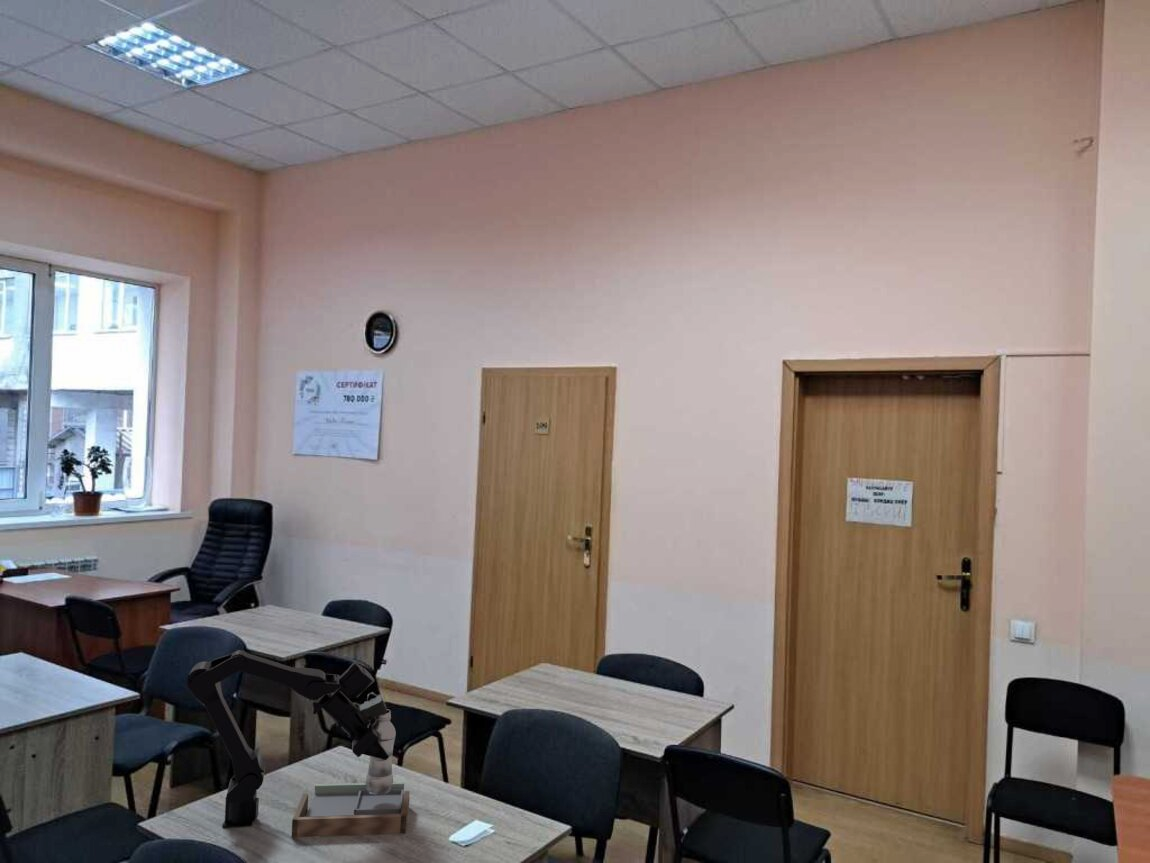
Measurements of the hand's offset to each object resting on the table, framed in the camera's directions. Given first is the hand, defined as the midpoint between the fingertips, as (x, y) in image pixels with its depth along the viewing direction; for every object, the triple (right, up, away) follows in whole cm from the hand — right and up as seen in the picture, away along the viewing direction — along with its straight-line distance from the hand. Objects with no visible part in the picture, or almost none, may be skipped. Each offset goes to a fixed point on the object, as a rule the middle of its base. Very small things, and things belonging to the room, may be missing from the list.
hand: (386, 753), depth 198 cm
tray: (-7, -13, -1) cm, 15 cm away
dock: (-6, -13, -8) cm, 16 cm away
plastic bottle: (-2, -10, -1) cm, 10 cm away
